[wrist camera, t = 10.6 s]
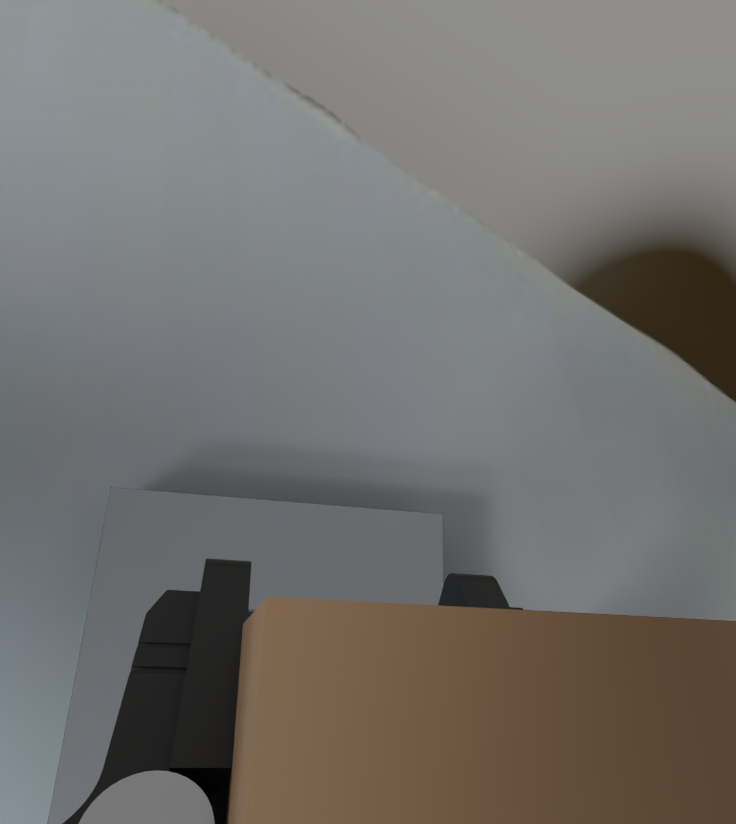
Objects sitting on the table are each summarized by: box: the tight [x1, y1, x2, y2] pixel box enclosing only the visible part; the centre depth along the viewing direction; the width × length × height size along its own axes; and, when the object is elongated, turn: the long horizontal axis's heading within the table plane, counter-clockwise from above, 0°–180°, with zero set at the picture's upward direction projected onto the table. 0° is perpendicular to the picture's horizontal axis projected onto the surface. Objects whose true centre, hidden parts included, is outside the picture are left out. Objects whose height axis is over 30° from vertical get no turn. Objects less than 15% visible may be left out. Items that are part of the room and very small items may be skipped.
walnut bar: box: [224, 597, 736, 824], centre depth 9 cm, size 3×3×12 cm
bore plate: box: [47, 487, 443, 824], centre depth 25 cm, size 14×14×3 cm
